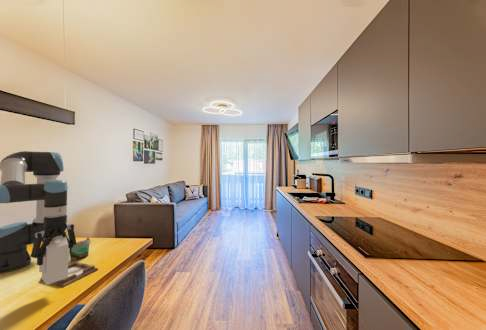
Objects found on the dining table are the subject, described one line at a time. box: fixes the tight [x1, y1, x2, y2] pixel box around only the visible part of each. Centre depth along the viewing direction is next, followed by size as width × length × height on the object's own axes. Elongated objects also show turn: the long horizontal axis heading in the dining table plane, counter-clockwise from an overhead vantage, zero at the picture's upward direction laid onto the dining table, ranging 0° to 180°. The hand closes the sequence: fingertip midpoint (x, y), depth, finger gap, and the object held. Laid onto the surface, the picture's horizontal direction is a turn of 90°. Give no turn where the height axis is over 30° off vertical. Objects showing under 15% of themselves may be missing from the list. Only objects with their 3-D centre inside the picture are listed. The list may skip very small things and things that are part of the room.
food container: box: [70, 237, 92, 262], centre depth 125 cm, size 12×6×10 cm, turn 168°
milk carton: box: [41, 235, 69, 286], centre depth 90 cm, size 7×7×19 cm
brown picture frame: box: [40, 261, 99, 288], centre depth 105 cm, size 17×16×2 cm
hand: (55, 266), depth 90 cm, fingers closed on milk carton, 8 cm apart
